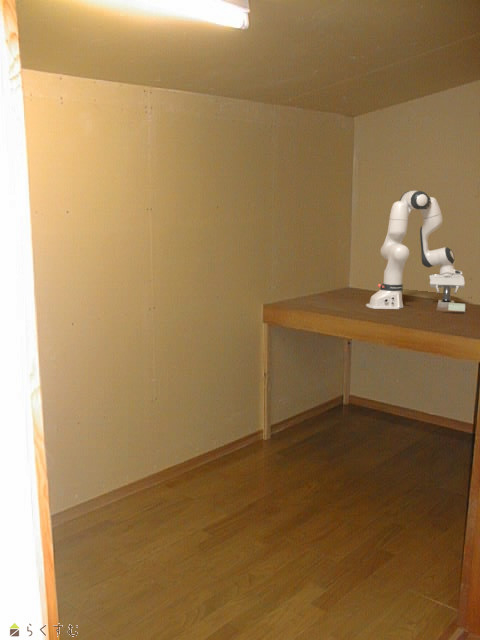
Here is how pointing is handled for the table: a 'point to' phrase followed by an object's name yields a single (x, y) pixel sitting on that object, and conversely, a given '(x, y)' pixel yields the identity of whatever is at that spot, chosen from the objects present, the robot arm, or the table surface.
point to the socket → (444, 303)
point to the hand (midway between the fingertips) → (446, 292)
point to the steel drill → (446, 294)
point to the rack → (456, 307)
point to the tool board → (450, 310)
